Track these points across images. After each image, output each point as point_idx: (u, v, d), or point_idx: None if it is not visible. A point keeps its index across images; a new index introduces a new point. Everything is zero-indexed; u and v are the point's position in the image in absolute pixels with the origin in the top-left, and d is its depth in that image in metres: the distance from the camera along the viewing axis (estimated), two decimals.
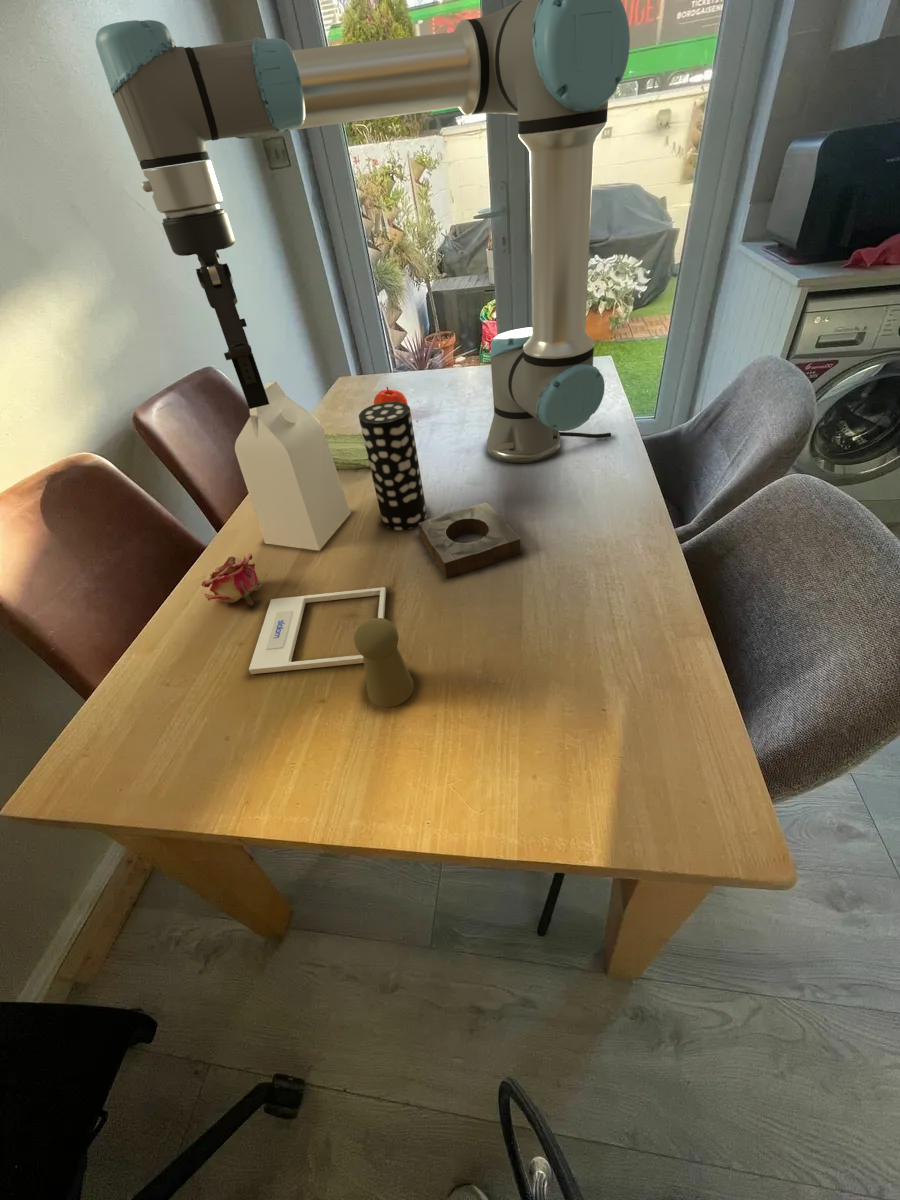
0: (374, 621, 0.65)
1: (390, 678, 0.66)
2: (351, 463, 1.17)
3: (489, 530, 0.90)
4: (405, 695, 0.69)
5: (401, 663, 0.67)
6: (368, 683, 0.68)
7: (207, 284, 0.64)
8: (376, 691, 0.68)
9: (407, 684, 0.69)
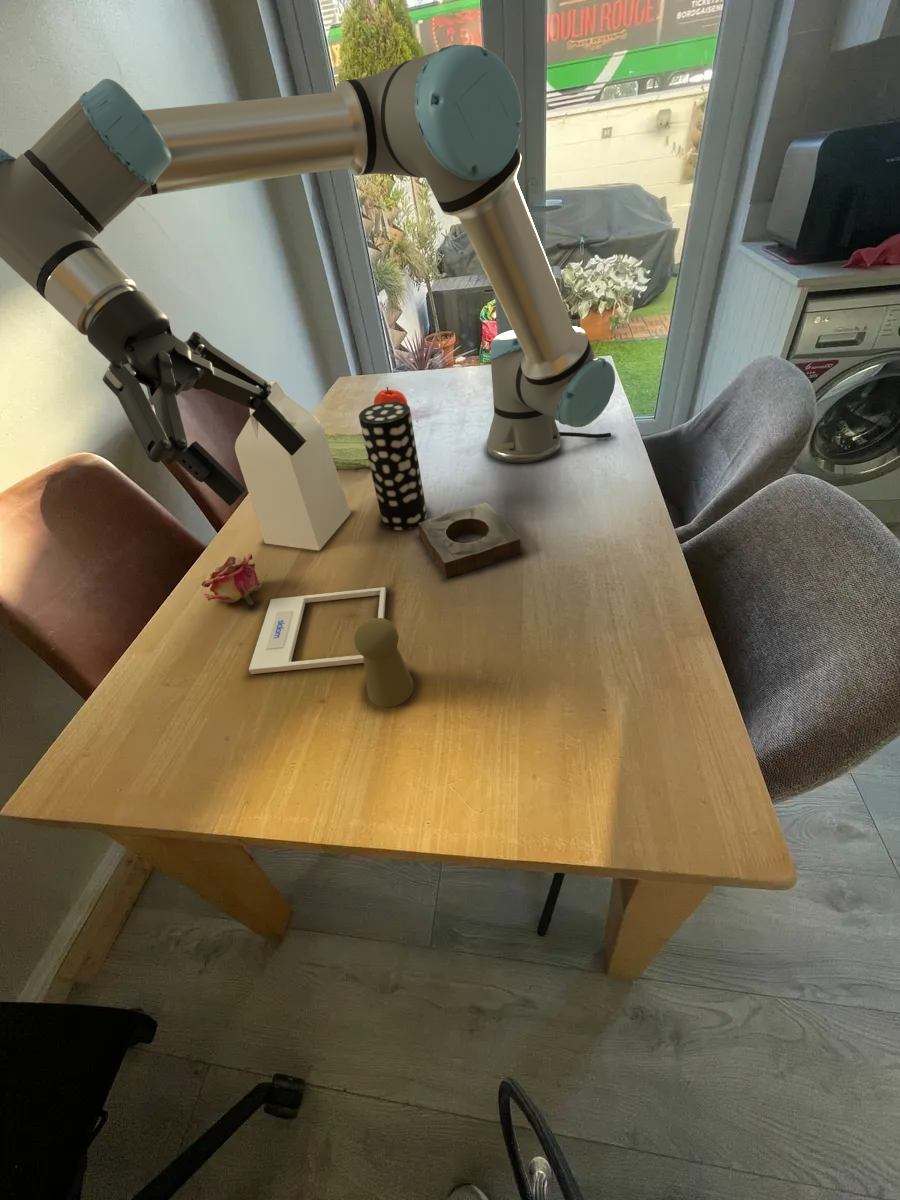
0: (374, 621, 0.65)
1: (390, 678, 0.66)
2: (351, 463, 1.17)
3: (489, 530, 0.90)
4: (405, 695, 0.69)
5: (401, 663, 0.67)
6: (368, 683, 0.68)
7: (114, 391, 0.53)
8: (376, 691, 0.68)
9: (407, 684, 0.69)
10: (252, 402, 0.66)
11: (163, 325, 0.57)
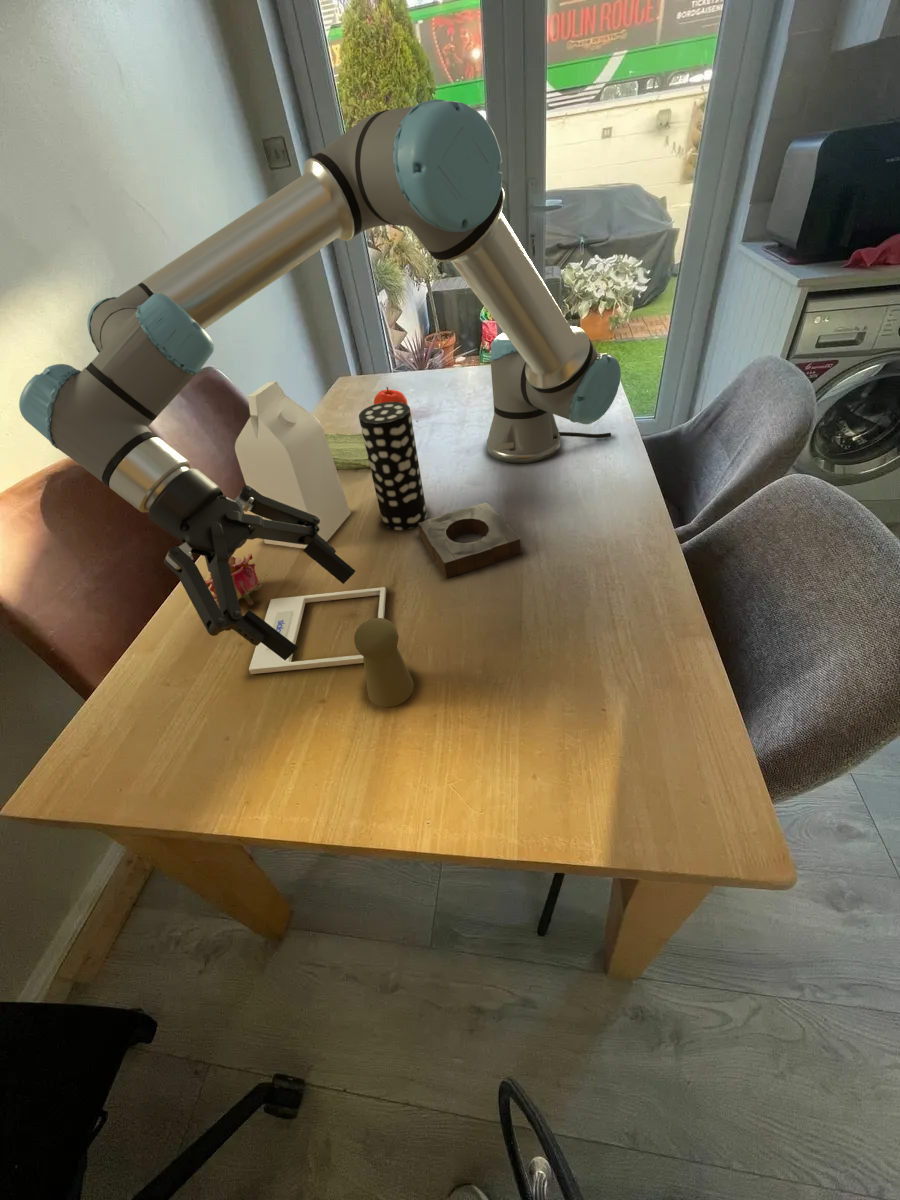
0: (374, 621, 0.65)
1: (390, 678, 0.66)
2: (351, 463, 1.17)
3: (489, 530, 0.90)
4: (405, 695, 0.69)
5: (401, 663, 0.67)
6: (368, 683, 0.68)
7: (174, 572, 0.58)
8: (376, 691, 0.68)
9: (407, 684, 0.69)
10: (302, 539, 0.69)
11: (213, 496, 0.60)
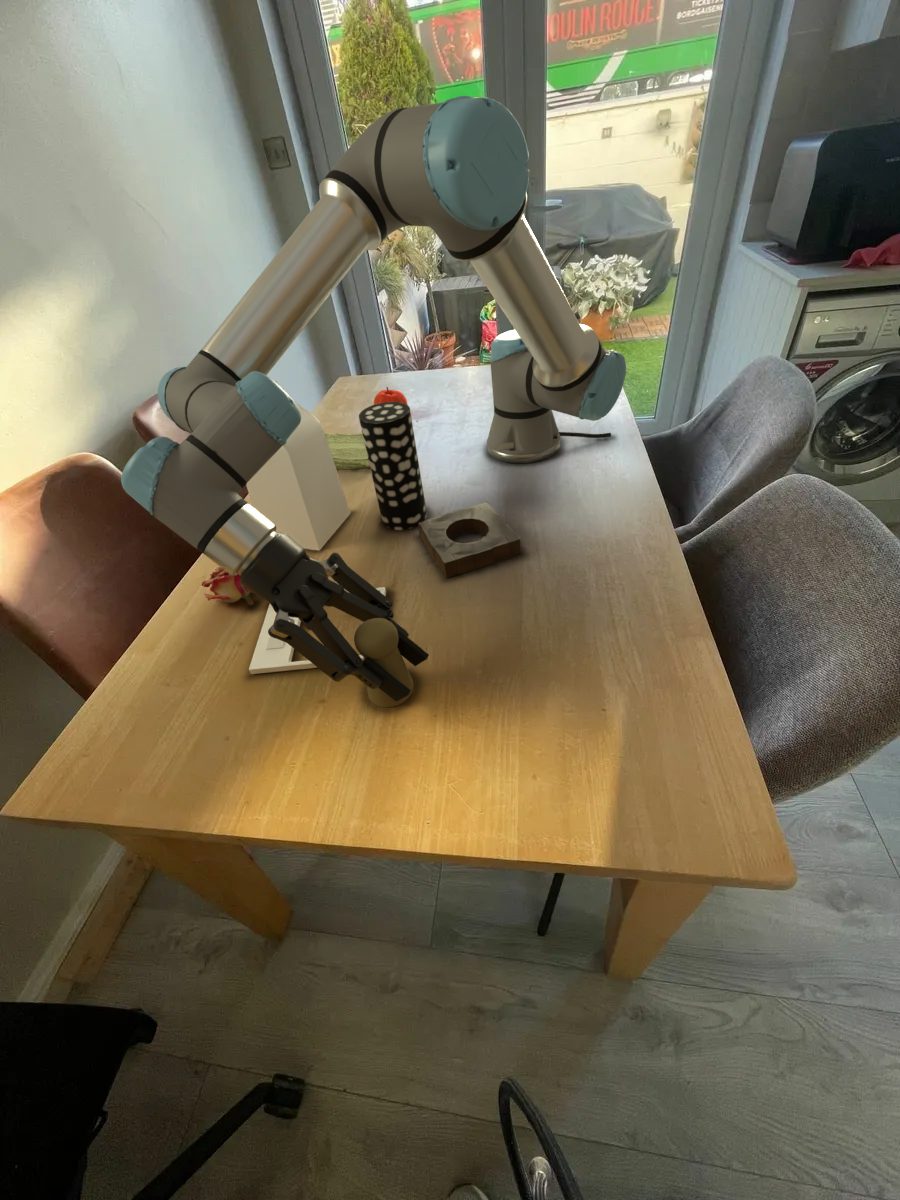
0: (374, 621, 0.65)
1: None
2: (351, 463, 1.17)
3: (489, 530, 0.90)
4: None
5: (401, 663, 0.67)
6: None
7: (282, 640, 0.61)
8: (376, 691, 0.68)
9: (407, 684, 0.69)
10: None
11: (300, 559, 0.62)
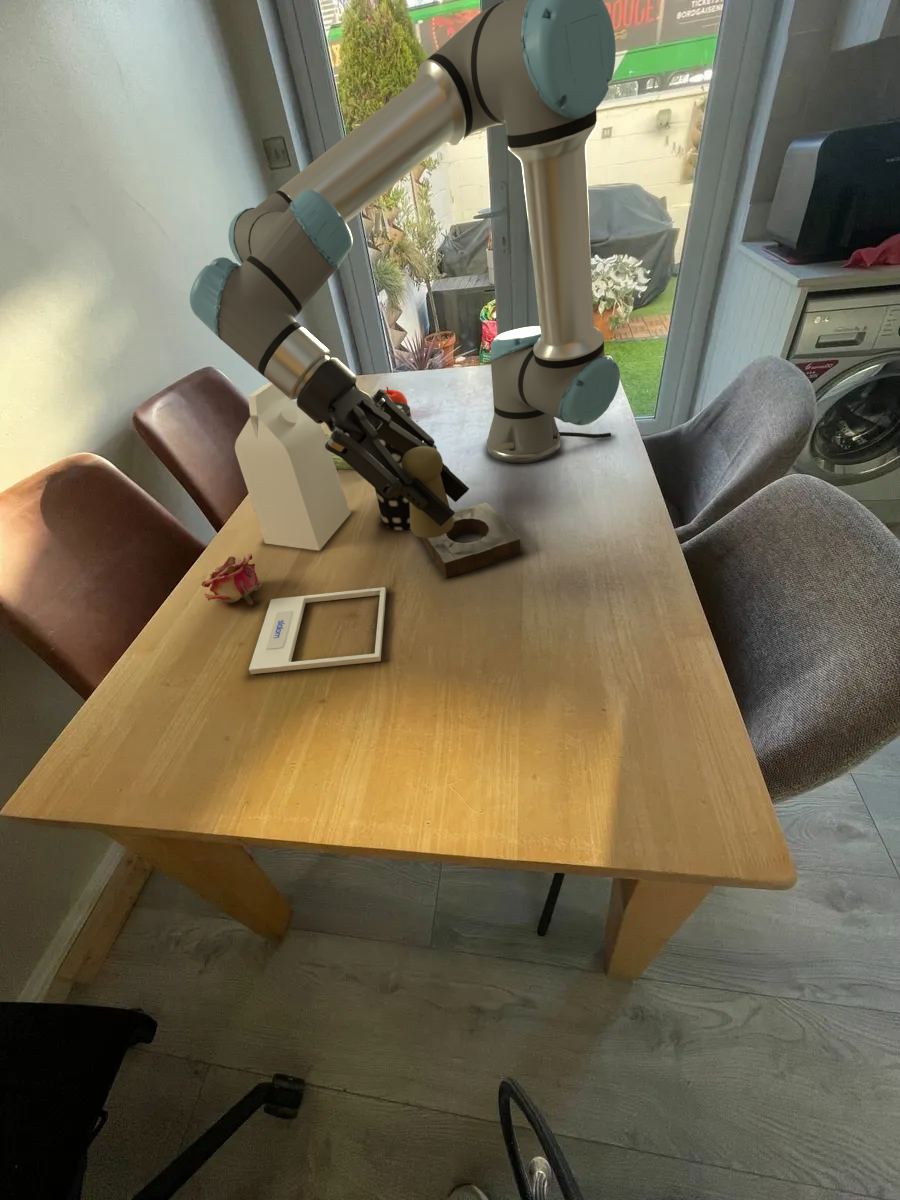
0: (420, 447, 0.69)
1: None
2: None
3: (489, 530, 0.90)
4: (447, 526, 0.74)
5: (444, 492, 0.72)
6: (413, 513, 0.73)
7: (337, 454, 0.65)
8: (420, 519, 0.72)
9: None
10: None
11: (353, 383, 0.67)
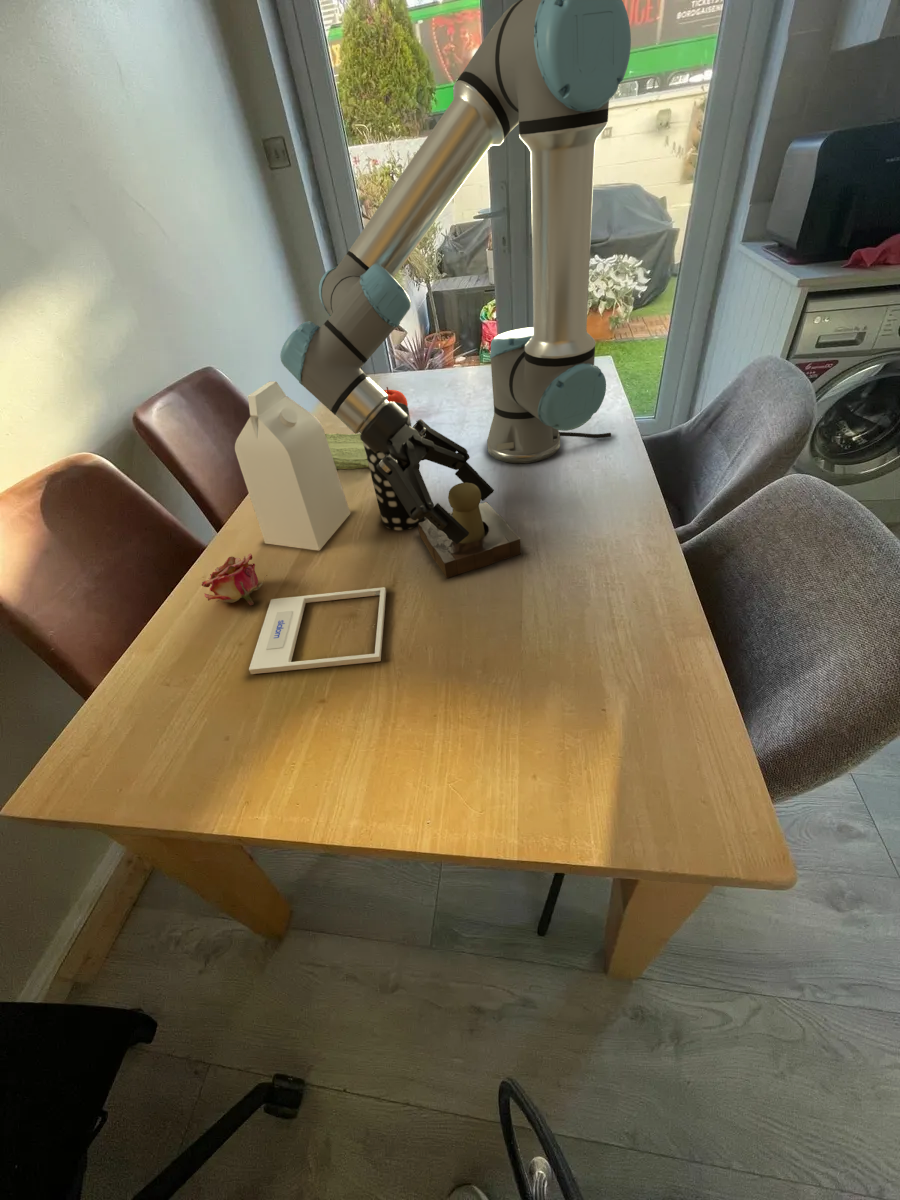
0: (463, 483, 0.87)
1: (473, 529, 0.88)
2: (351, 463, 1.17)
3: (489, 530, 0.90)
4: None
5: (481, 519, 0.89)
6: None
7: (384, 475, 0.80)
8: (461, 541, 0.89)
9: None
10: (455, 465, 0.91)
11: None
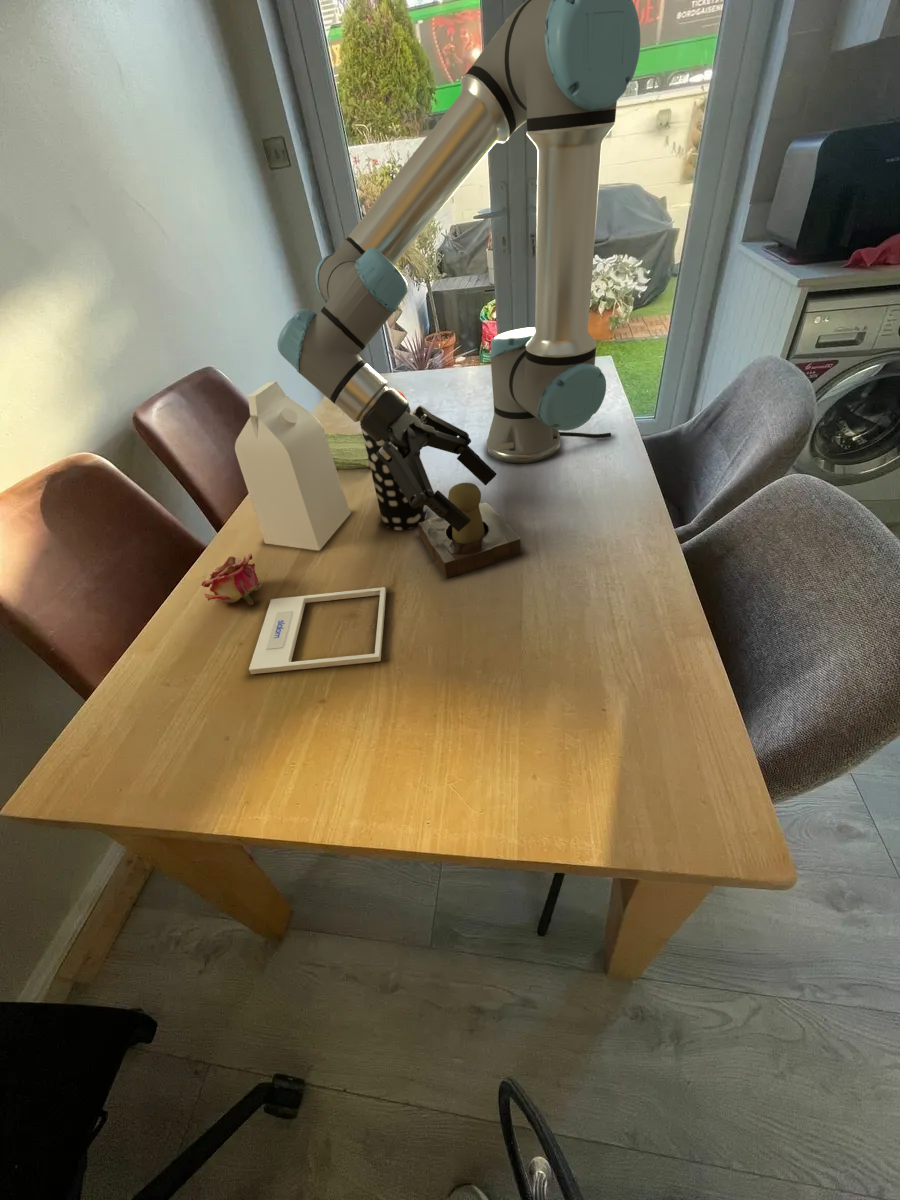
0: (463, 483, 0.87)
1: (473, 529, 0.88)
2: (351, 463, 1.17)
3: (489, 530, 0.90)
4: None
5: (481, 518, 0.89)
6: (455, 535, 0.90)
7: (384, 462, 0.79)
8: (461, 541, 0.89)
9: None
10: (456, 449, 0.90)
11: (406, 409, 0.81)
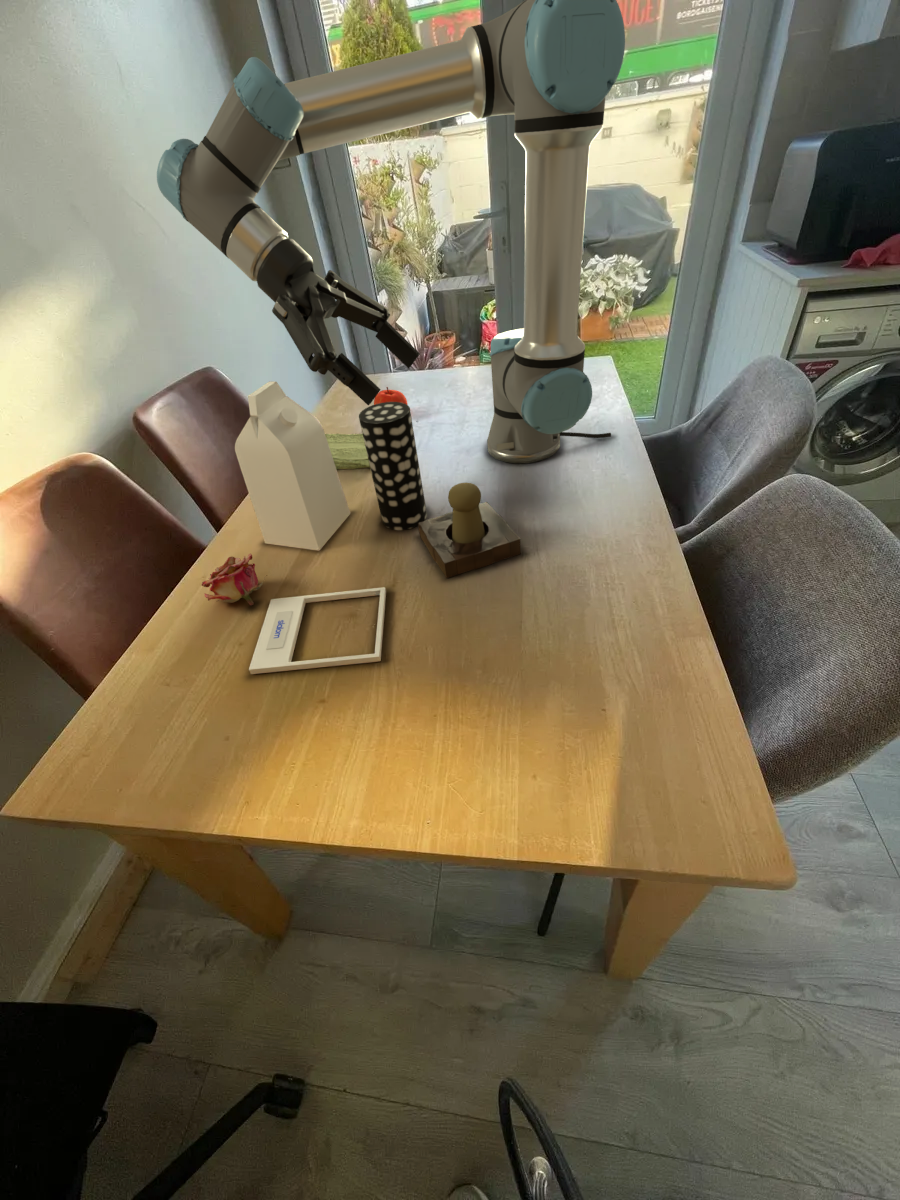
0: (463, 483, 0.87)
1: (473, 529, 0.88)
2: (351, 463, 1.17)
3: (489, 530, 0.90)
4: None
5: (481, 518, 0.89)
6: (455, 535, 0.90)
7: (280, 320, 0.70)
8: (461, 541, 0.89)
9: None
10: (375, 326, 0.81)
11: (309, 265, 0.72)
